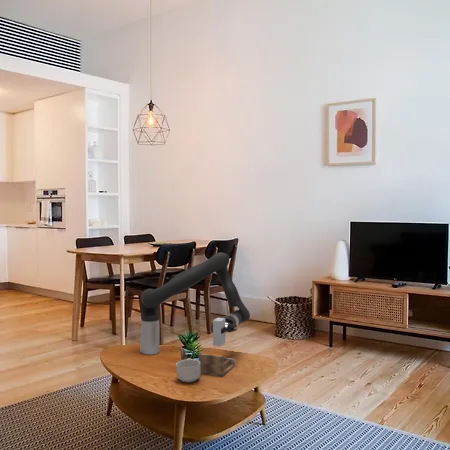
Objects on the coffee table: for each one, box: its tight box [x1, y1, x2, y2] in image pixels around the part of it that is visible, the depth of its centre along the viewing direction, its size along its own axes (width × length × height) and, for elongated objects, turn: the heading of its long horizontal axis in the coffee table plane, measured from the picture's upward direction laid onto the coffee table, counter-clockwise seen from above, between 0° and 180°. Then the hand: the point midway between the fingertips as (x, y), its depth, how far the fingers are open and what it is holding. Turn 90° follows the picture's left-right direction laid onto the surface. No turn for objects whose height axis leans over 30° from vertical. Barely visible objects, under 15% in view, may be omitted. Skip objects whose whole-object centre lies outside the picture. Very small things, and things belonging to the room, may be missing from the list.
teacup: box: [175, 357, 201, 383], centre depth 219 cm, size 14×11×8 cm
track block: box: [198, 353, 236, 378], centre depth 231 cm, size 12×16×9 cm
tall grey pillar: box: [212, 317, 226, 347], centre depth 236 cm, size 4×6×12 cm, turn 159°
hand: (217, 331), depth 233 cm, fingers closed on tall grey pillar, 4 cm apart
